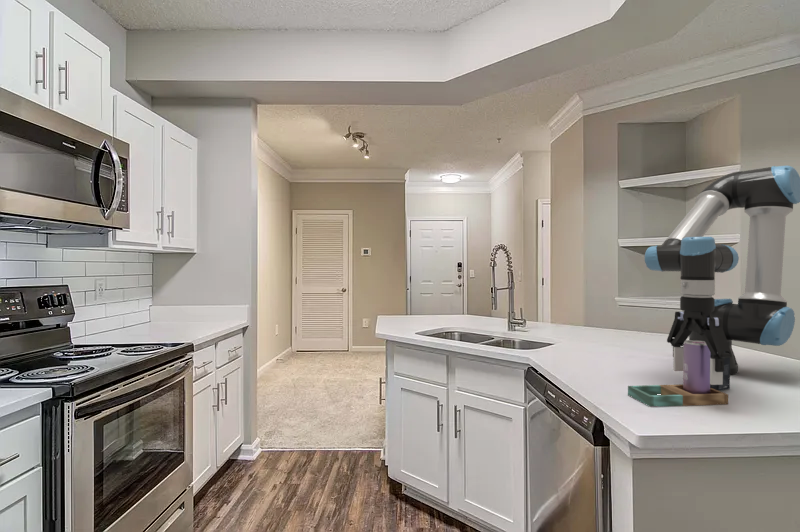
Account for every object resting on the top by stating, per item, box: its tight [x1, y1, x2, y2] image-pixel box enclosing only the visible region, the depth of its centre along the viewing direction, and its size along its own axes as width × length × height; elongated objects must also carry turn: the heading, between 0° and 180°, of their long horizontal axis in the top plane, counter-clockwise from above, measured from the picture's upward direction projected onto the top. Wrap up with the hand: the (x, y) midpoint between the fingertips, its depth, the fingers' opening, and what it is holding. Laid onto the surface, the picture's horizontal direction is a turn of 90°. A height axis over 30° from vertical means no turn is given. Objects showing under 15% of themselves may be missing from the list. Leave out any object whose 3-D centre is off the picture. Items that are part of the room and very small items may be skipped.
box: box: [710, 352, 731, 392], centre depth 130 cm, size 8×6×11 cm
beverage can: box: [682, 339, 711, 394], centre depth 120 cm, size 6×6×15 cm
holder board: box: [627, 383, 729, 407], centre depth 119 cm, size 21×10×2 cm, turn 94°
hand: (696, 377), depth 120 cm, fingers open, 13 cm apart
